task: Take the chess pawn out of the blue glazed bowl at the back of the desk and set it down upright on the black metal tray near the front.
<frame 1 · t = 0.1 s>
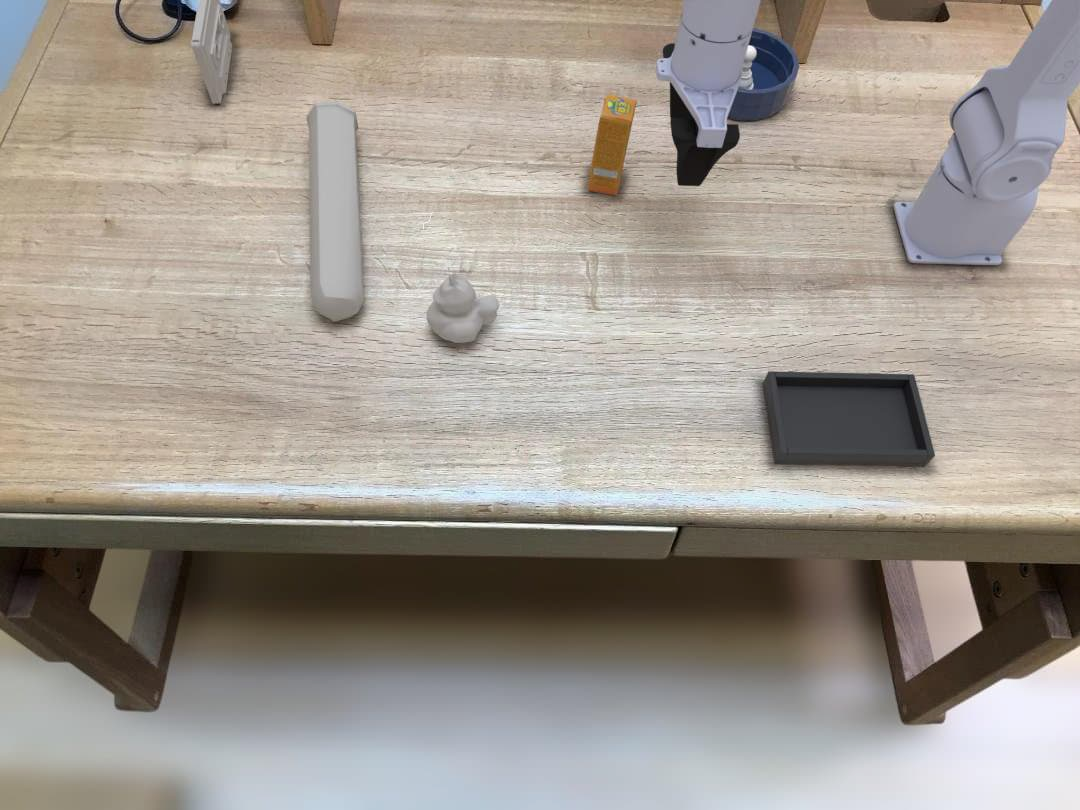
hand: (685, 152, 78), 10 cm above the table, tool pointing down, fingers open, 7 cm apart
cassette: (222, 70, 96), on the table
rubber duck: (464, 329, 80), on the table
bowl: (739, 88, 98), on the table
chess pawn: (740, 86, 98), resting on bowl
tray: (841, 424, 76), on the table
supplement box: (605, 184, 90), on the table
tube: (340, 228, 85), on the table
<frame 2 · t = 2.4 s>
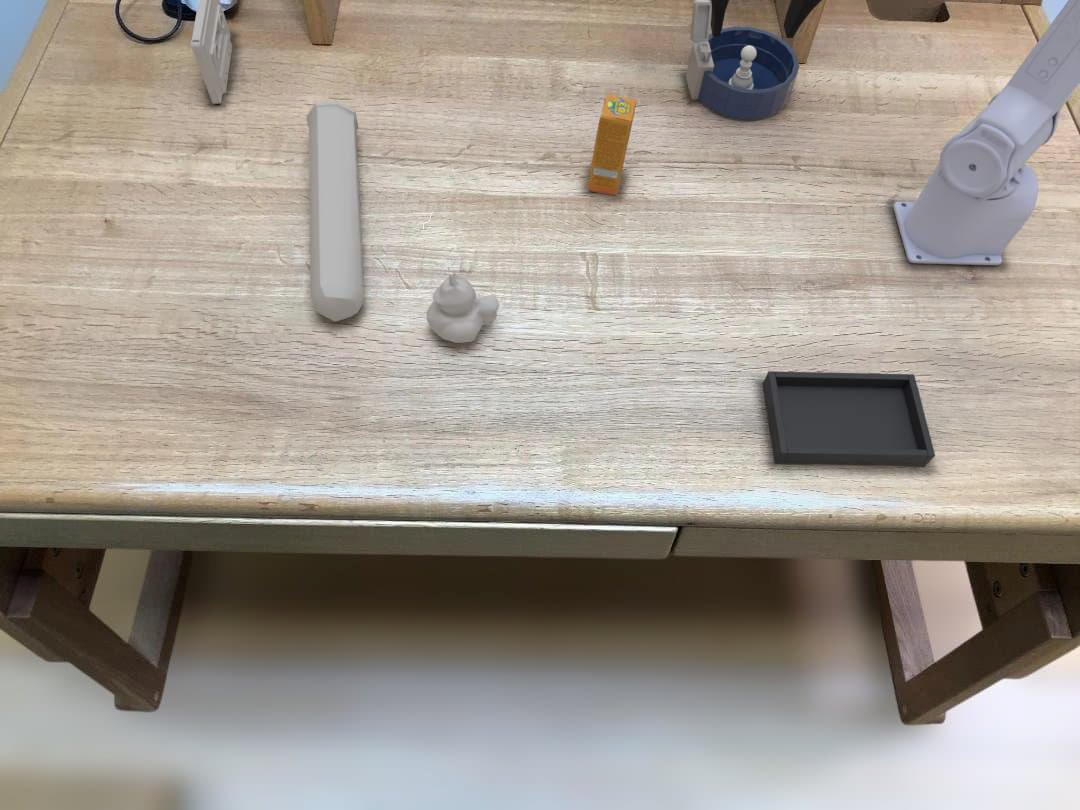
hand: (751, 31, 88), 10 cm above the table, tool pointing down, fingers open, 7 cm apart
nothing on the table moved.
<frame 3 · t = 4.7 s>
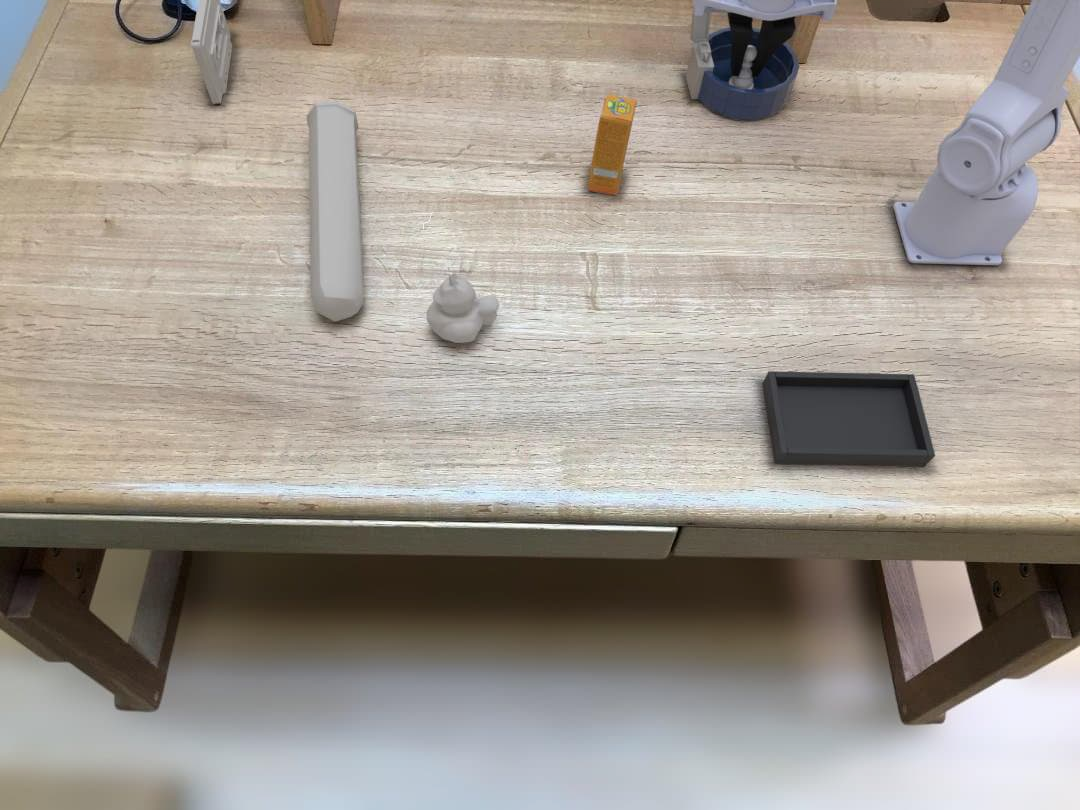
hand: (744, 70, 96), 2 cm above the table, tool pointing down, fingers closed on chess pawn, 2 cm apart
chess pawn: (740, 86, 97), resting on bowl, touching gripper
everything else where it was.
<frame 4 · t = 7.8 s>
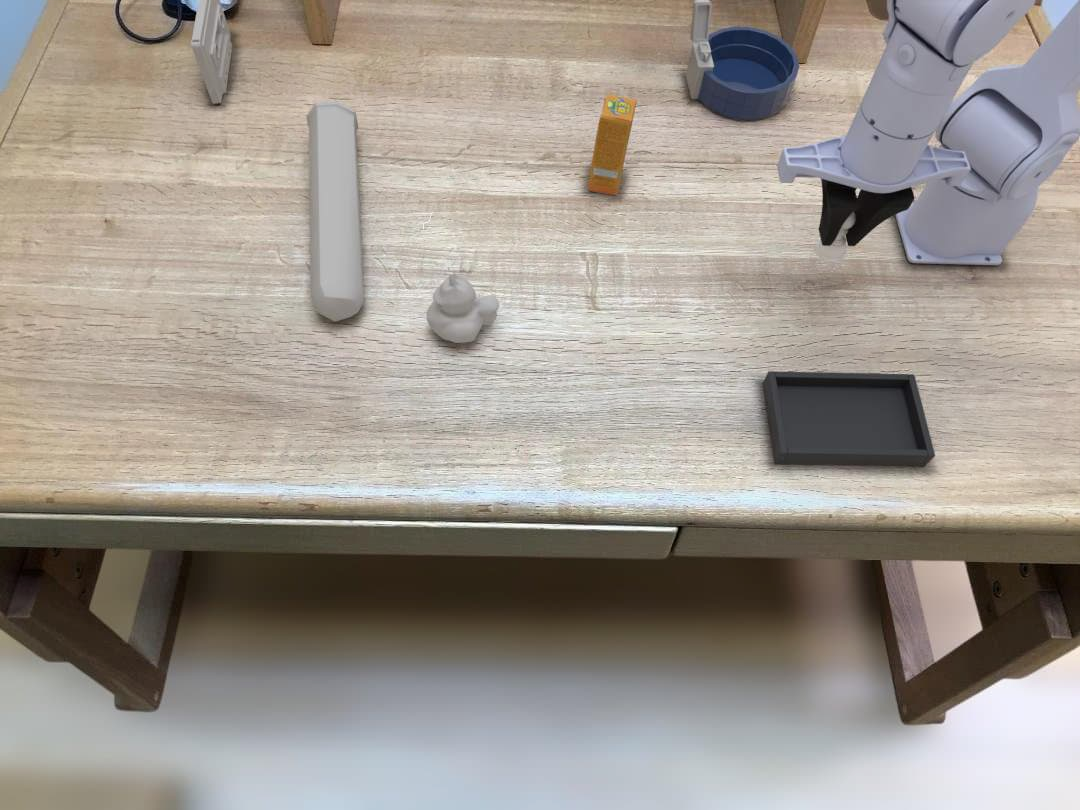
hand: (837, 237, 74), 9 cm above the table, tool pointing down, fingers closed on chess pawn
chess pawn: (828, 253, 76), point 7 cm above the table, touching gripper
everything else where it was.
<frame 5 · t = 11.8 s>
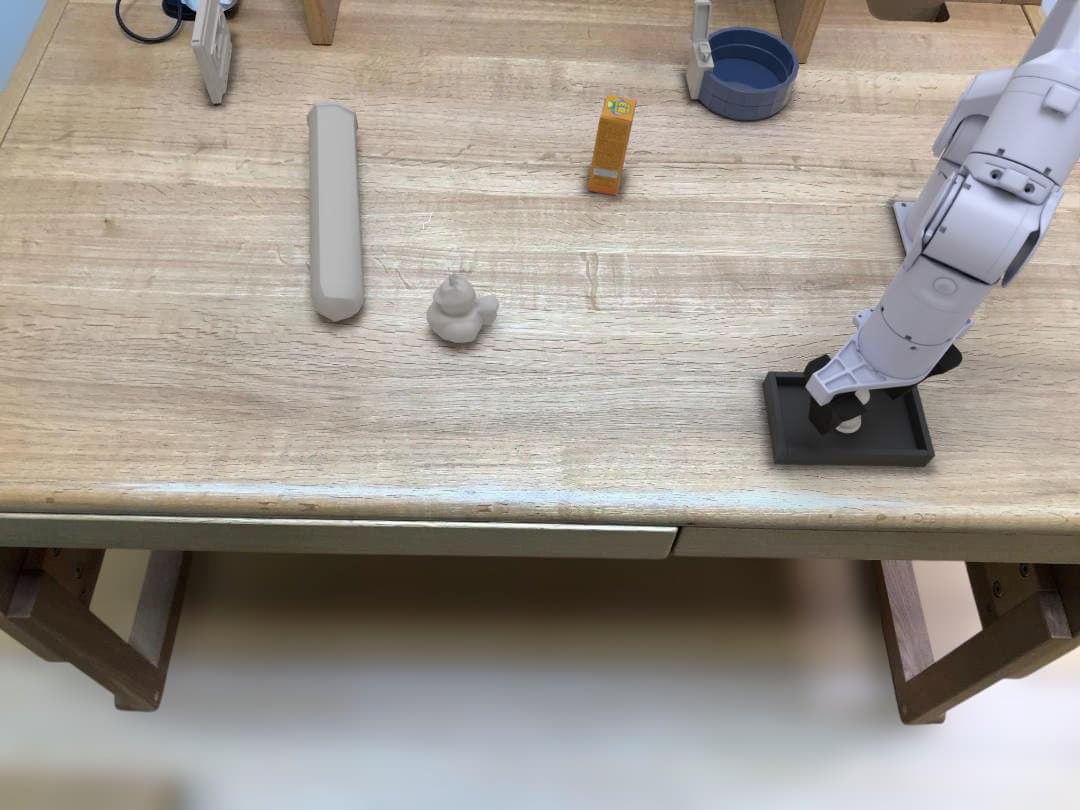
hand: (853, 407, 73), 3 cm above the table, tool pointing down, fingers open, 7 cm apart
chess pawn: (843, 421, 75), resting on tray
everything else where it was.
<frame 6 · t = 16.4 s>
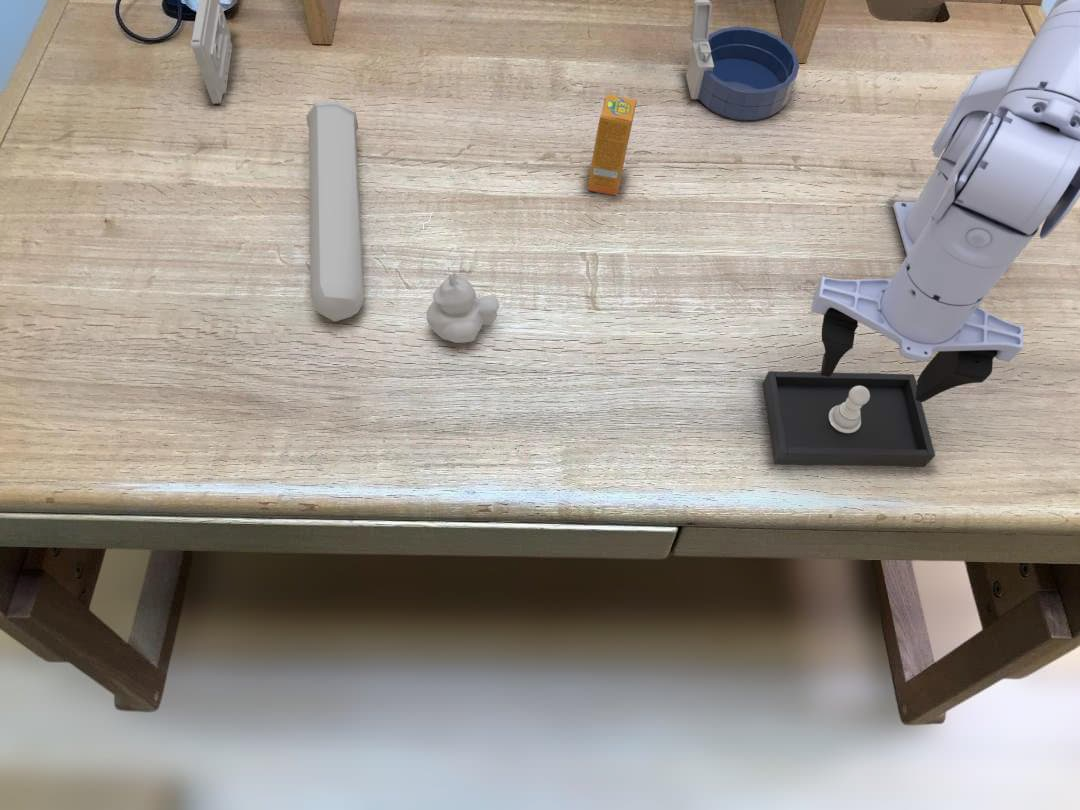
hand: (873, 378, 69), 8 cm above the table, tool pointing down, fingers open, 7 cm apart
nothing on the table moved.
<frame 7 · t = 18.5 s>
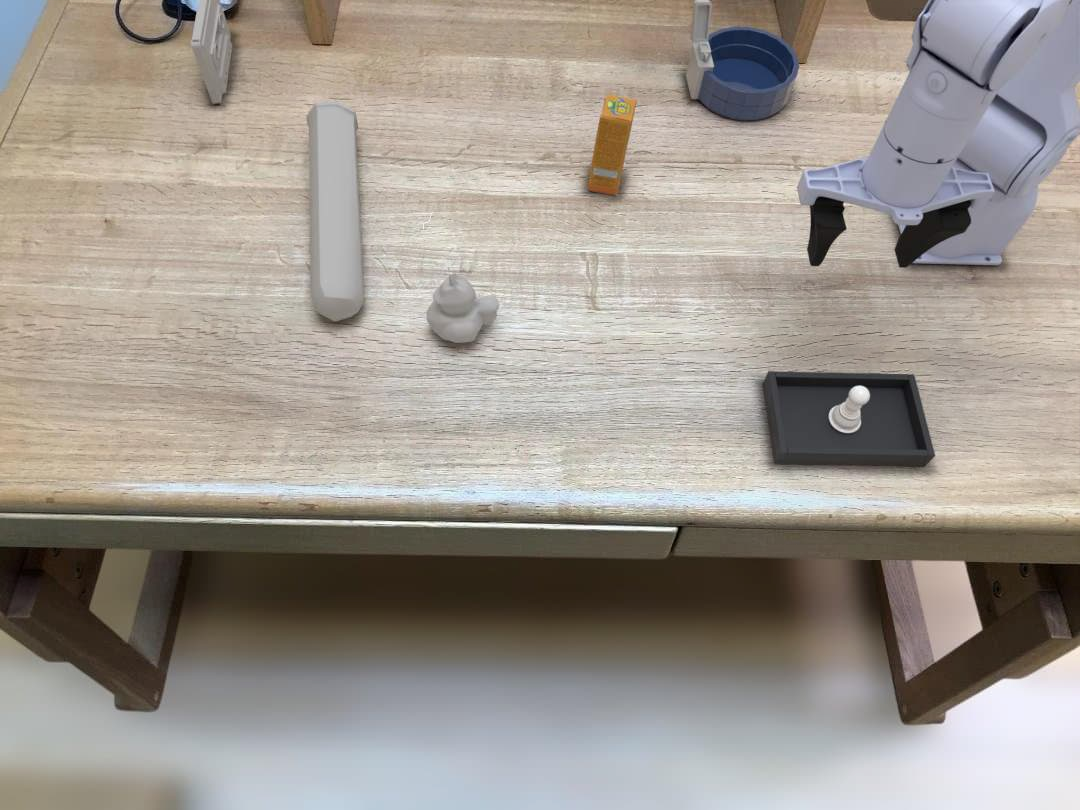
hand: (856, 258, 73), 9 cm above the table, tool pointing down, fingers open, 7 cm apart
nothing on the table moved.
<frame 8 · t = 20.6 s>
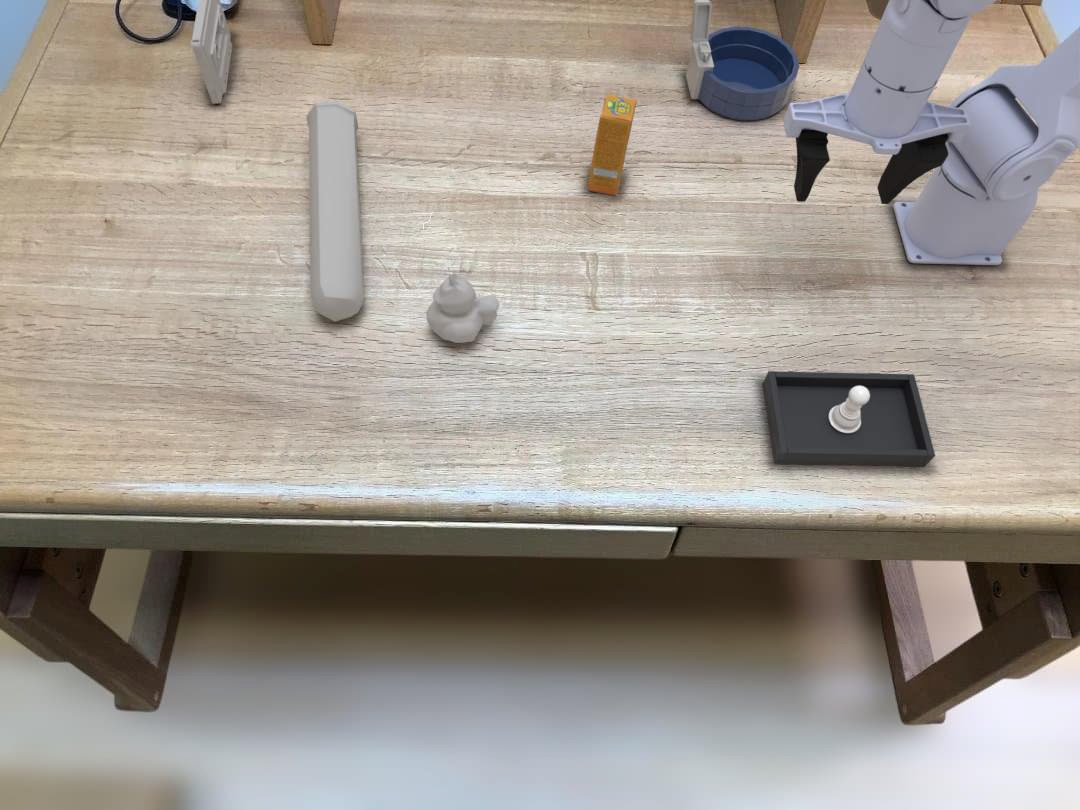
hand: (841, 194, 77), 9 cm above the table, tool pointing down, fingers open, 7 cm apart
nothing on the table moved.
at the end: chess pawn inside the target area in the tray (0.1 cm from its centre), point 0.4 cm above the tray's base; chess pawn tilted 0° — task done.
